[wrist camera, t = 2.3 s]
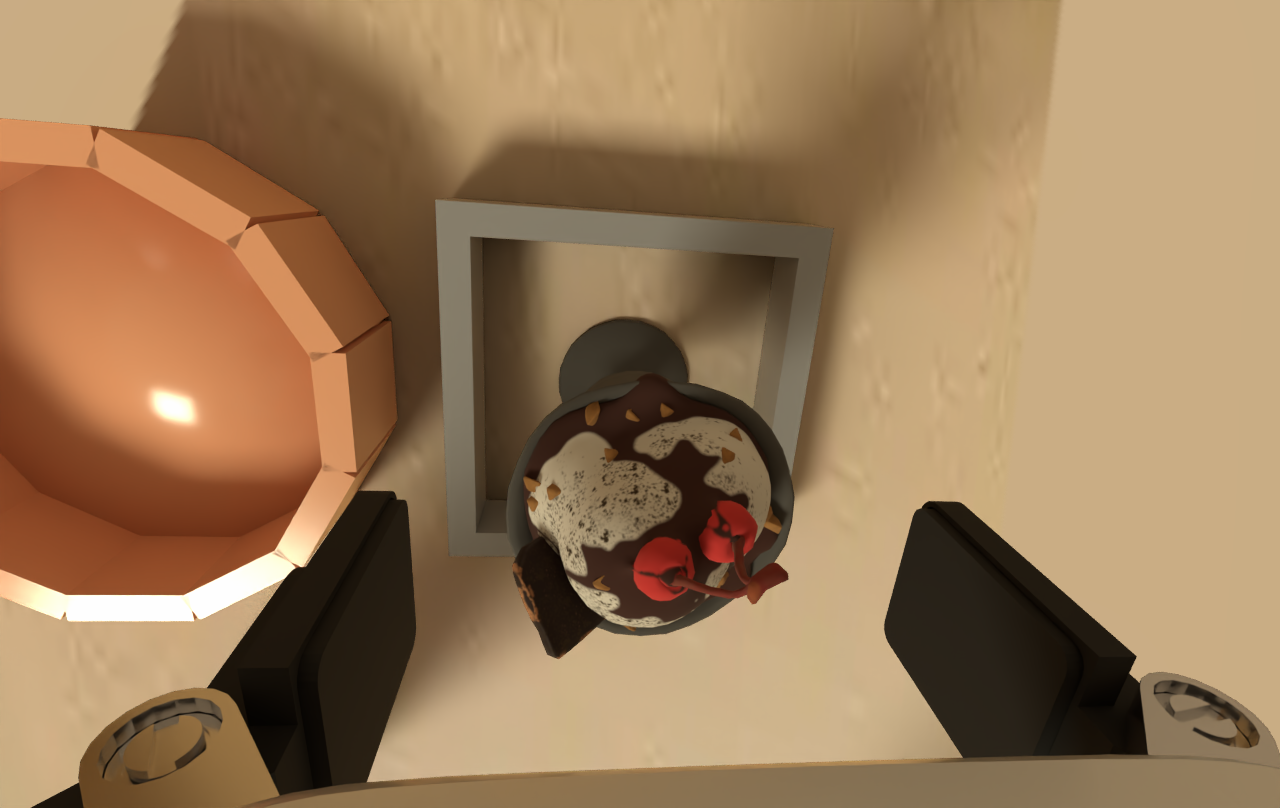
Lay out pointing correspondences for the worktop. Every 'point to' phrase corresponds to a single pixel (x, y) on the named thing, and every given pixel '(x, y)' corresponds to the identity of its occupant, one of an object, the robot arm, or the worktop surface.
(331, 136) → the worktop surface
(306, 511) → the bowl
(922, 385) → the worktop surface
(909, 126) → the worktop surface
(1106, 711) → the robot arm
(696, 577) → the sundae
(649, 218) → the gray square frame
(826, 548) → the worktop surface
